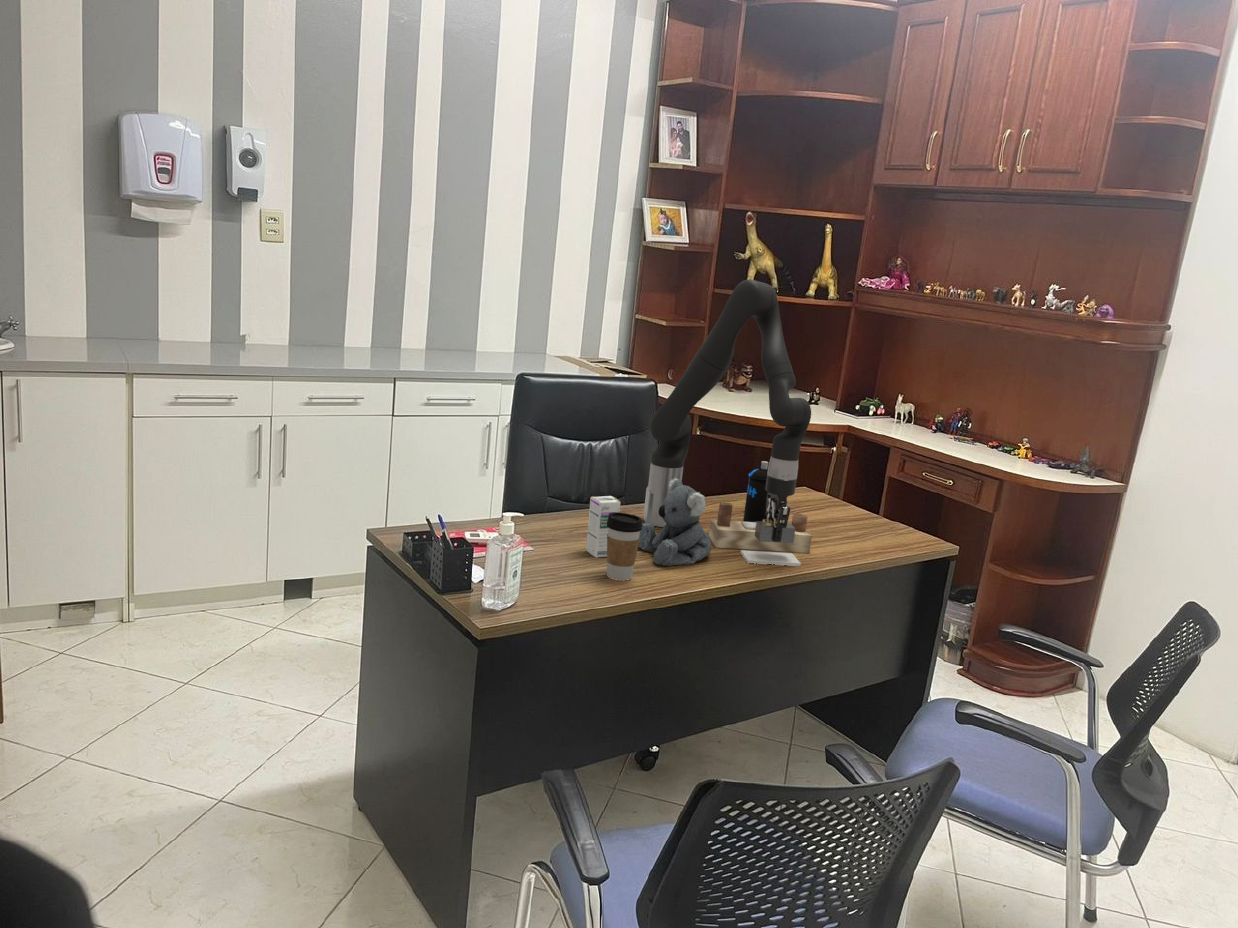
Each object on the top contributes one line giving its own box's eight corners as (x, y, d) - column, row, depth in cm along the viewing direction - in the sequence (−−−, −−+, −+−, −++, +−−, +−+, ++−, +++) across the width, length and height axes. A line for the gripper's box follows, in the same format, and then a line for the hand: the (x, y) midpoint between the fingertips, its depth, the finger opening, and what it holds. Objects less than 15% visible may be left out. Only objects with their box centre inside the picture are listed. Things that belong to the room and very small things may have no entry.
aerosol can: (769, 526, 279) (778, 460, 275) (770, 534, 271) (780, 466, 267) (741, 523, 280) (749, 457, 275) (741, 531, 272) (750, 463, 267)
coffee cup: (600, 569, 229) (606, 509, 226) (635, 571, 230) (641, 512, 227) (602, 581, 221) (608, 520, 218) (638, 584, 222) (645, 522, 218)
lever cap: (759, 541, 245) (761, 523, 244) (754, 535, 250) (756, 518, 249) (793, 543, 246) (795, 525, 245) (787, 537, 251) (790, 519, 250)
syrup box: (595, 558, 237) (600, 502, 233) (585, 550, 242) (590, 495, 238) (615, 556, 239) (621, 501, 236) (605, 549, 244) (610, 494, 241)
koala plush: (631, 545, 249) (639, 473, 245) (693, 543, 256) (702, 473, 252) (658, 568, 234) (667, 492, 229) (723, 566, 241) (733, 491, 236)
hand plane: (715, 547, 255) (720, 508, 252) (708, 536, 264) (713, 498, 261) (809, 553, 258) (815, 514, 256) (799, 542, 267) (805, 504, 264)
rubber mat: (747, 563, 245) (748, 560, 244) (740, 553, 252) (740, 550, 252) (800, 566, 246) (800, 563, 246) (791, 556, 254) (791, 553, 254)
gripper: (760, 467, 251) (752, 528, 254) (775, 481, 237) (766, 546, 241) (788, 469, 252) (779, 530, 255) (804, 483, 238) (795, 547, 242)
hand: (773, 537), depth 248 cm, fingers closed on lever cap, 5 cm apart
